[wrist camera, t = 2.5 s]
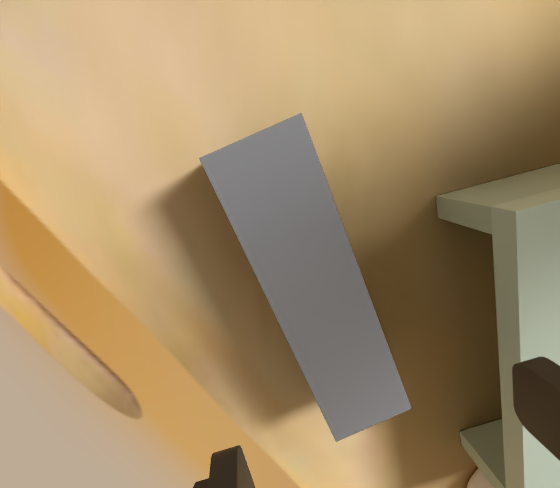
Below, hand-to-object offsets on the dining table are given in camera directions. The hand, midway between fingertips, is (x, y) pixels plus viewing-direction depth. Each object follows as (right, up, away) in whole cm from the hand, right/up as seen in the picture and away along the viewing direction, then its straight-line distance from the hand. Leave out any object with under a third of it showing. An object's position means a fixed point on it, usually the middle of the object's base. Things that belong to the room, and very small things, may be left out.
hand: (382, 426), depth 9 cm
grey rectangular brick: (-1, +3, +13) cm, 13 cm away
